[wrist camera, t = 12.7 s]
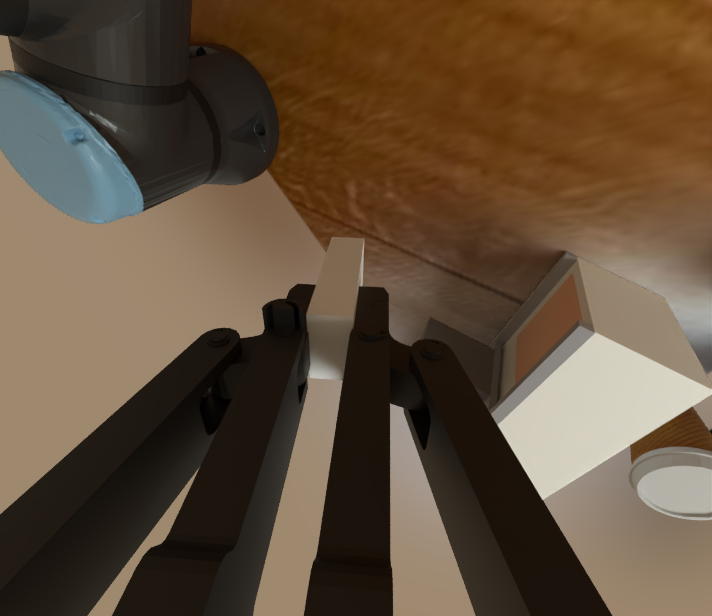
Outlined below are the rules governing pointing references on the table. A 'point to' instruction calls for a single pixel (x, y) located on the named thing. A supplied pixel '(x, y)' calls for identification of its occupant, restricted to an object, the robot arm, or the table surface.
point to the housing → (589, 372)
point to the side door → (471, 358)
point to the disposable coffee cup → (675, 468)
